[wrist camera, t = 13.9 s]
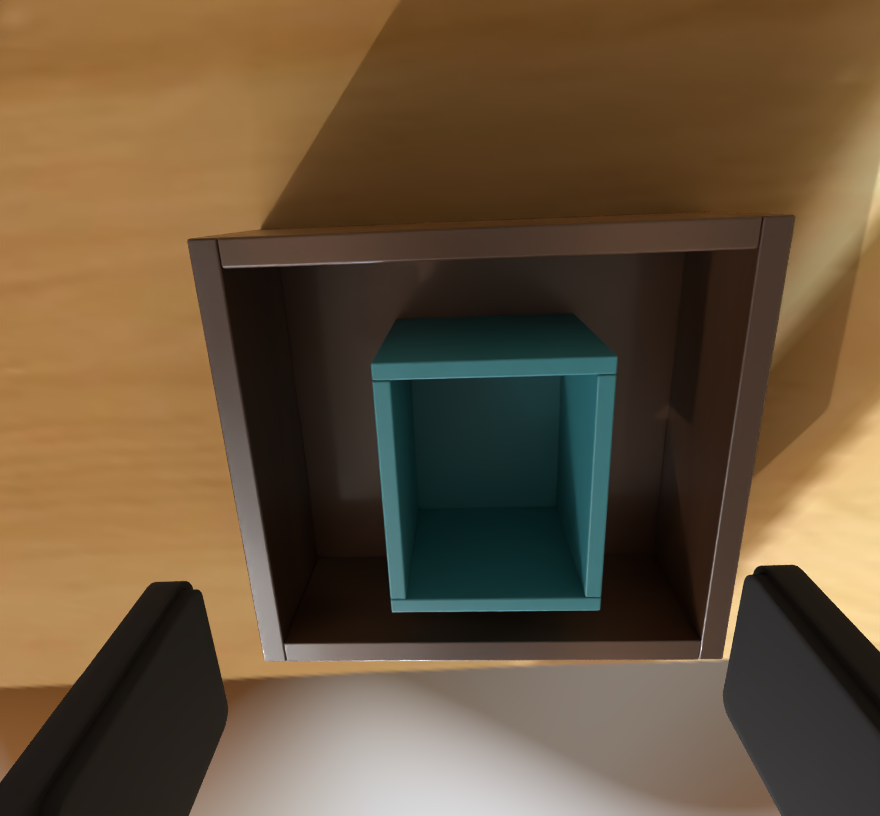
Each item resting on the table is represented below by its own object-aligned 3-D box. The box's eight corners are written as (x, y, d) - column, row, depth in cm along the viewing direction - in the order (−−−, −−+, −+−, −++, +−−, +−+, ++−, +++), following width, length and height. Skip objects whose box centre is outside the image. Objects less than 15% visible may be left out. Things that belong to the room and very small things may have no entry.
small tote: (566, 510, 23) (600, 611, 17) (408, 513, 23) (391, 613, 17) (574, 312, 20) (618, 355, 14) (395, 318, 20) (370, 362, 15)
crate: (305, 564, 25) (263, 662, 20) (258, 229, 20) (185, 239, 15) (666, 560, 24) (723, 660, 19) (705, 211, 19) (797, 214, 14)
